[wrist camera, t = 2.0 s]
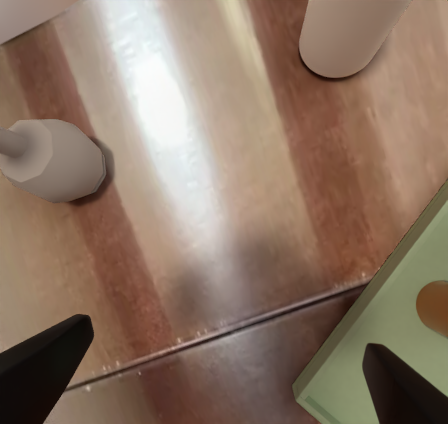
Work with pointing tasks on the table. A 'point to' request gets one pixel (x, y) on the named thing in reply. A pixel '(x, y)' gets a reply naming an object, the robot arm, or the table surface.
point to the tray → (383, 327)
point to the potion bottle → (51, 159)
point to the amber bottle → (434, 307)
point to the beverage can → (346, 33)
